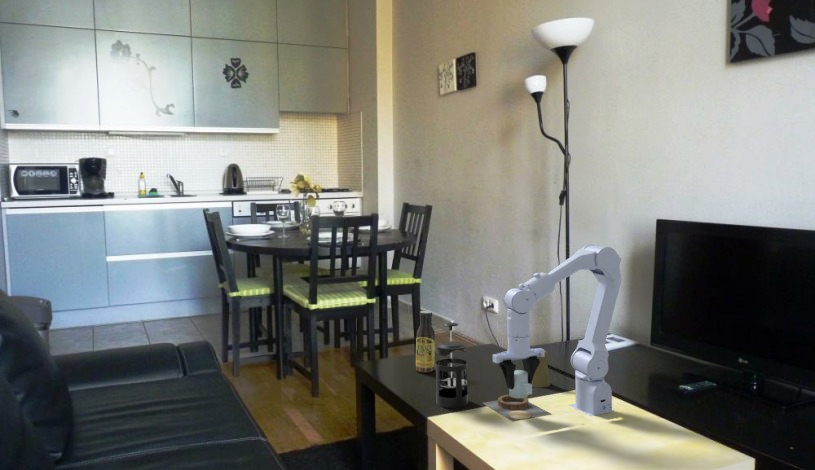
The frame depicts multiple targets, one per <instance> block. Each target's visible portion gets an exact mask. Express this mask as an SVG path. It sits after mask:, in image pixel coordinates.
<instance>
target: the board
mask: <svg viewBox="0 0 815 470" xmlns="http://www.w3.org/2000/svg"><path fill="white" fill-rule="evenodd" d="M482 404H483V405H484V406H486V407H487V408H489V409H490V410H492V411H494V412H495V413H497V414H499V415H501V416H502V417H504V418H506V419H508V420H509V421H511V422H518V421H523V420H530V419H533V418H540V417H544V416H546V417H547V416H549V415H550V416H551V415H552V413H551V412H549V411H547V410H545V409H543V408H541V407H539V406H537V405H535V404H534V403H532V402H530V401H529V398H528V397H526V398H513V397H511V396H509V394H505V395H504V394H503V395H501V396H499V397H498V398H497V399H495V400H490V401H484V402H482Z"/></svg>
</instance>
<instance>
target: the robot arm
mask: <svg viewBox="0 0 815 470" xmlns="http://www.w3.org/2000/svg"><path fill="white" fill-rule="evenodd" d="M621 261H622V258H621V257H620V255H619V253H618V252H617V251H616V249H614V248H612V247H610V246H599V245H594V244H588V245H587V244H586V245H584V247H582V248H580V249H578V250H576V252H575V253H574V254H573V255H571V256H569V258H567V259H566V260H564V261H563V262H561V263H560V264H559V265H558V266H556V267H555V268H553V269H552V270H551V271H549V272H548V273H546V272H543V271H542V272H535V273H534V274H533V275H532V278H530V279H528V280H527V281H525V282H524V283H522V282H521V283H519V284H518V288H516V287H515V288H513V287H512V288H511V289H508V291H507V292H506V294H505V296H504V298H503V299H502V302H503V305H504V306H505V308H506V309H507V311H506V312H507V313H506V317H507V320H506V321H507V322H506V323H507V324H506V326H507V330H506V331H507V333H506V334H507V336H506V337H507V350H505V351H502V352H498V353H493V354H492V363H495V364H498V366H499V368H500V369H501V371H502V375H503V377H504V380H505V385H506V387H507V388H508V390H509V389H513V388H514V372H515V370H516V368H517V367H516V366H517V365H516V364H514V363H513V361H520V360H521V362H522V366H523V371H526V372H528V383H530V384H532V380H533V377H534V374H535V371H536V369H537V367H538V365H539V364H540V359H537V357H544V350H545V349H544V348H541V347H539V348H537V347H536V348H531V329H530V327H531V326H530V325H531V324H530V323H531V321H530V320H531V319H530V316H531V315H530V311H531V310H532V309H533V307H534V305H535V304H536V303H537V302H539V301H540V300H542V299H543V298H545V297H546V296H548V295H550V294H551V293H553V292H554V291H555V288H556V284H558V283H560V282H562V281H563V280H565V279H566V278H568V277H571V276H573V274H575V273H577V272H579V271H581V270H586V271H587V270H589V271H590V273H592V274H593V276H594V277H595V279H596V280H597V282H598V284H597V288H596V293H595V296H594V300H593V304H592V308H591V311H590V316H589V319H588V322H587V323H588V324H587V326H586V331H585V334H584V338H583V339H582V340H580V341H579V342H578V343H577V345H576V348H575V350H574V351H573V353H572V354H571V357H570V365H571V367H572V368H573V369H574V375H575V378H574V379H575V381H574V382H575V403H572V404H568V406H569V407H571V408H573V409H575V410H578V411H579V412H581V413H583V414H585V415H588V416H590V417H593V416H599V415H604V414H609V413H615V410H614V409H613V389H612V387H611V386H610V384H609V383H607V381H606V380H605V377H606V375H607V374H608V372H609V367H610V366H609V355H610V353H609V351H608V348H607V347H606V341H607V337H608V334H609V330H610V326H611V322H612V317H613V314H614V310H615V307H616V304H617V299H618V295H619V292H620V288H621V287H620V286H621V283H622V275H621V267H620V266H621Z"/></svg>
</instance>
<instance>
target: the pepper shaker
mask: <svg viewBox="0 0 815 470" xmlns="http://www.w3.org/2000/svg"><path fill="white" fill-rule="evenodd" d="M537 359H540V364H539V365H538V367H537V369H536V371H535V374H534V377H533V380H532V384H531V385H532V387H536V388H548V387H550V386H551V379H550V372H549V368H548V367H549V366H548V361H549V359H550V355H549V352H548V351H547V350H545V349H544V357H537Z"/></svg>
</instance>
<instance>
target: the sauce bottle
mask: <svg viewBox="0 0 815 470" xmlns="http://www.w3.org/2000/svg"><path fill="white" fill-rule="evenodd" d="M419 317H420V321H419V322H420V323H419V327H418V329H417V330H416V338H415V339H416V340H415V341H416V342H415V343H416V344H415V369H416V371H417V372H419V373H422V374H423V373H424V374H425V373H431V372H433V371H434V370H435V362H436V360H435V358H436V355H435V353H436V347H435V345H436V338H435V337H436V332H435V329H434V328H433V326H432V325H433V324H432V317H433V311H431V310H421V311H419Z"/></svg>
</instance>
